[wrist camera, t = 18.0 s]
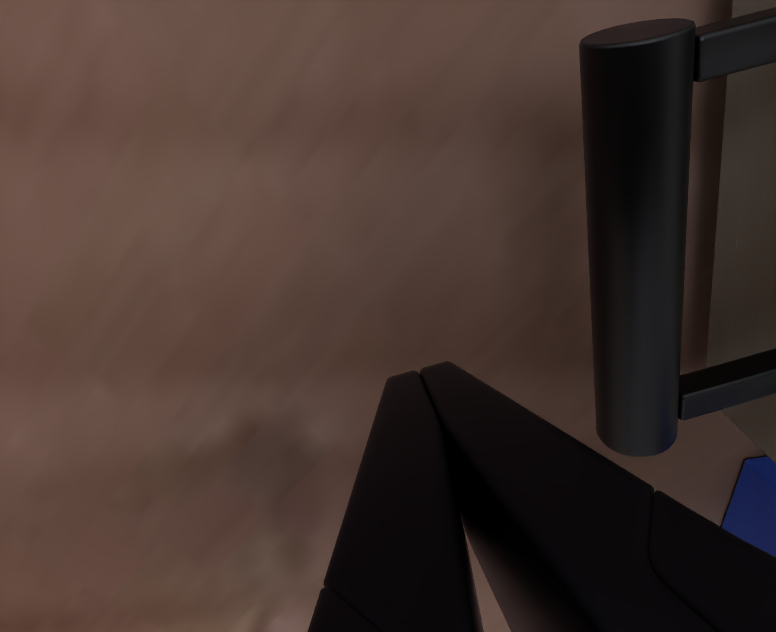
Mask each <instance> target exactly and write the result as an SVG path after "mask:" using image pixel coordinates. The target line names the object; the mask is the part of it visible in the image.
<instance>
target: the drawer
mask: <svg viewBox="0 0 776 632" xmlns="http://www.w3.org/2000/svg"><path fill="white" fill-rule="evenodd" d="M579 51H580V73H581V95H582V118H583V140H584V162H585V185H586V207H587V229H588V252H589V274H590V296H591V319H592V341H593V363H594V386H595V408H596V429H597V433H598V436H599V438H600V439H601V441H602V442H603V443H604V444H605V445H606V446H607V447H609V448H610V449H612V450H614V451H616V452H618V453H620V454H623V455H627V456H633V457H648V456H654V455H657V454H660V453H662V452H664V451H666V450H667V449H669V448H670V447H671V446H672V444H673V443H674V442H675V440H676V437H677V423H678V418H679V419H680V420H686V419H690V418H693V417H697V416H700V415H704V414H707V413H711V412H714V411H718V410H720V411H721V412H722V413H723V414H724V415H725V416H726V417H727V418H728V419H729V420H731V421H732V422H733V423H734V424H735V425H736V426H737V427H738V428H739V429H740V430H741V431H742V432H743V433H744V434H745V435H746V436H747V437H748V438H749V439H750V440H751V441H753V442H754V443H755V444H756V445H757V446H758V447H759V448H760V449H761V450H762V451H763V452H764V453H765V454H766V455H767V456H768V457H769V458H770V459H771V460H772V461H773V462H775V463H776V0H733V2H732V16H731V19H728V20H724V21H720V22H716V23H712V24H708V25H704V26H701V27H697V28H696V26H695V23H694V22H693V21H691V20H687V19H678V18H672V19H656V20H648V21H641V22H635V23H629V24H624V25H619V26H615V27H611V28H607V29H604V30H601V31H598V32H595V33H592V34H590V35H588V36H586V37H585V38H583V39H582V40H581V41H580V44H579ZM725 75H727V85H726V99H725V113H724V126H723V140H722V154H721V168H720V181H719V195H718V209H717V223H716V236H715V250H714V264H713V278H712V291H711V305H710V319H709V333H708V347H707V360H706V368H705V369H701V370H698V371H694V372H691V373H687V374H683V375H680V357H681V335H682V313H683V292H684V270H685V248H686V226H687V204H688V182H689V160H690V138H691V116H692V94H693V81H696V82H702V81H706V80H709V79H713V78H717V77H721V76H725Z"/></svg>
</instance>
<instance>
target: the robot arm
mask: <svg viewBox="0 0 776 632" xmlns="http://www.w3.org/2000/svg"><path fill="white" fill-rule="evenodd" d="M463 526H464V528H463ZM464 529H465V532H466V534H467V537H468V539H469V541H470V544H471V546H472V548H473V550H474V553H475V555H476V557H477V559H478V561H479V563H480V565H481V568H482V570H483V572H484V574H485V576H486V578H487V580H488V583H489V585H490V587H491V589H492V591H493V593H494V595H495V598H496V600H497V602H498V604H499V606H500V608H501V610H502V613H503V615H504V617H505V619H506V621H507V623H508V625H509V628H510V630H511V632H776V557H774V556H772V555H771V554H769V553H767V552H765V551H763V550H761V549H759V548H757V547H755V546H753V545H752V544H750V543H748V542H746V541H744V540H742V539H740V538H739V537H737V536H735V535H733V534H732V533H730V532H728V531H727V530H725V529H723V528H721V527H720V526H718V525H716V524H715V523H713V522H711V521H709V520H708V519H706V518H704V517H703V516H701V515H699V514H697V513H696V512H694V511H692V510H691V509H689V508H687V507H686V506H684V505H682V504H681V503H679V502H677V501H676V500H674V499H673V498H671V497H669V496H668V495H666V494H665V493H663V492H661V491H655V492H654V488H653V487H652V486H651V485H649V484H648V483H646V482H645V481H643V480H641V479H640V478H638V477H636V476H635V475H633V474H632V473H630V472H628V471H627V470H625V469H623V468H622V467H620V466H619V465H617V464H615V463H614V462H612V461H610V460H609V459H607V458H606V457H604V456H602V455H601V454H599V453H597V452H596V451H594V450H593V449H591V448H589V447H588V446H586V445H585V444H583V443H581V442H580V441H578V440H576V439H575V438H573V437H572V436H570V435H568V434H567V433H565V432H563V431H562V430H560V429H559V428H557V427H555V426H554V425H552V424H550V423H549V422H547V421H546V420H544V419H542V418H541V417H539V416H538V415H536V414H534V413H533V412H531V411H529V410H528V409H526V408H525V407H523V406H521V405H520V404H518V403H516V402H515V401H513V400H512V399H510V398H508V397H507V396H505V395H503V394H502V393H500V392H499V391H497V390H495V389H494V388H492V387H490V386H489V385H487V384H486V383H484V382H482V381H481V380H479V379H478V378H476V377H474V376H473V375H471V374H469V373H468V372H466V371H465V370H463V369H461V368H460V367H458V366H456V365H455V364H453V363H451V362H448V361H447V362H442V363H439V364H435V365H432V366H428V367H424V368H422V369H421V370H420V374H419V373H418V372H417V371H410V372H406V373H403V374H399V375H395V376H392V377H389V378H388V379H387V381H386V384H385V387H384V390H383V393H382V396H381V400H380V403H379V406H378V409H377V412H376V416H375V419H374V422H373V425H372V429H371V432H370V435H369V438H368V441H367V445H366V448H365V451H364V454H363V457H362V461H361V464H360V467H359V470H358V473H357V477H356V480H355V483H354V486H353V489H352V493H351V496H350V499H349V502H348V506H347V509H346V512H345V515H344V518H343V522H342V525H341V528H340V531H339V534H338V538H337V541H336V544H335V547H334V550H333V554H332V557H331V560H330V563H329V567H328V570H327V573H326V576H325V579H324V587H325V588H322V589H321V591H320V594H319V598H318V601H317V604H316V607H315V610H314V614H313V617H312V620H311V623H310V626H309V629H308V632H484V631H483V626H482V621H481V615H480V610H479V605H478V599H477V594H476V589H475V583H474V578H473V573H472V567H471V562H470V556H469V551H468V547H467V542H466V537H465V533H464Z"/></svg>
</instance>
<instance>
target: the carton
mask: <svg viewBox="0 0 776 632" xmlns="http://www.w3.org/2000/svg"><path fill="white" fill-rule="evenodd" d="M721 528H723V529H725V530H727V531H728V532H730V533H732V534H733V535H735V536H737V537H739V538H740V539H742V540H744V541H746V542H748V543H750V544H752V545H753V546H755V547H757V548H759V549H761V550H763V551H765V552H767V553H769V554H771V555H772V556H774V557H776V463H775V462H773V461H772V460H771V459H770V458H769V457H768V456H766V457H759V458H752V459H747V460H746V461H745V462H744V465H743V468H742V471H741V474H740V476H739V479H738V482H737V485H736V488H735V491H734V493H733V496H732V499H731V502H730V505H729V508H728V510H727V513H726V516H725V519H724V522H723V525H722V527H721Z"/></svg>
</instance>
